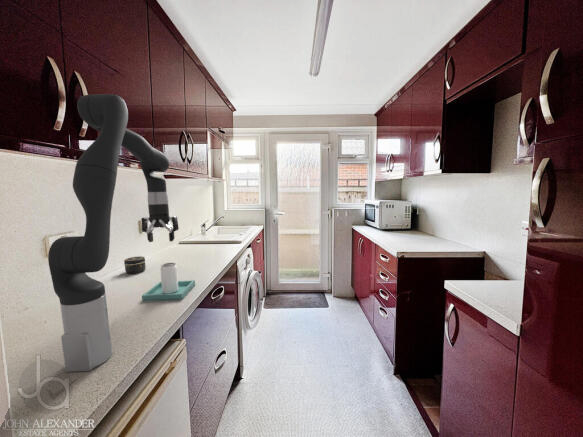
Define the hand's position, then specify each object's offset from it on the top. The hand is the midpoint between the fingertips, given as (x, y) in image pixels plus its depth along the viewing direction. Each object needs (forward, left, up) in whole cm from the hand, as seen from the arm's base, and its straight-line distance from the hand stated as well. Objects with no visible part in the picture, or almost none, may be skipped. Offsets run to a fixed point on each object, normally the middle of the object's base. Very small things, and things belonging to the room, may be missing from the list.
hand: (161, 241), depth 111 cm
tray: (+1, -2, -23) cm, 23 cm away
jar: (+34, +31, -23) cm, 52 cm away
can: (+1, -2, -23) cm, 23 cm away
